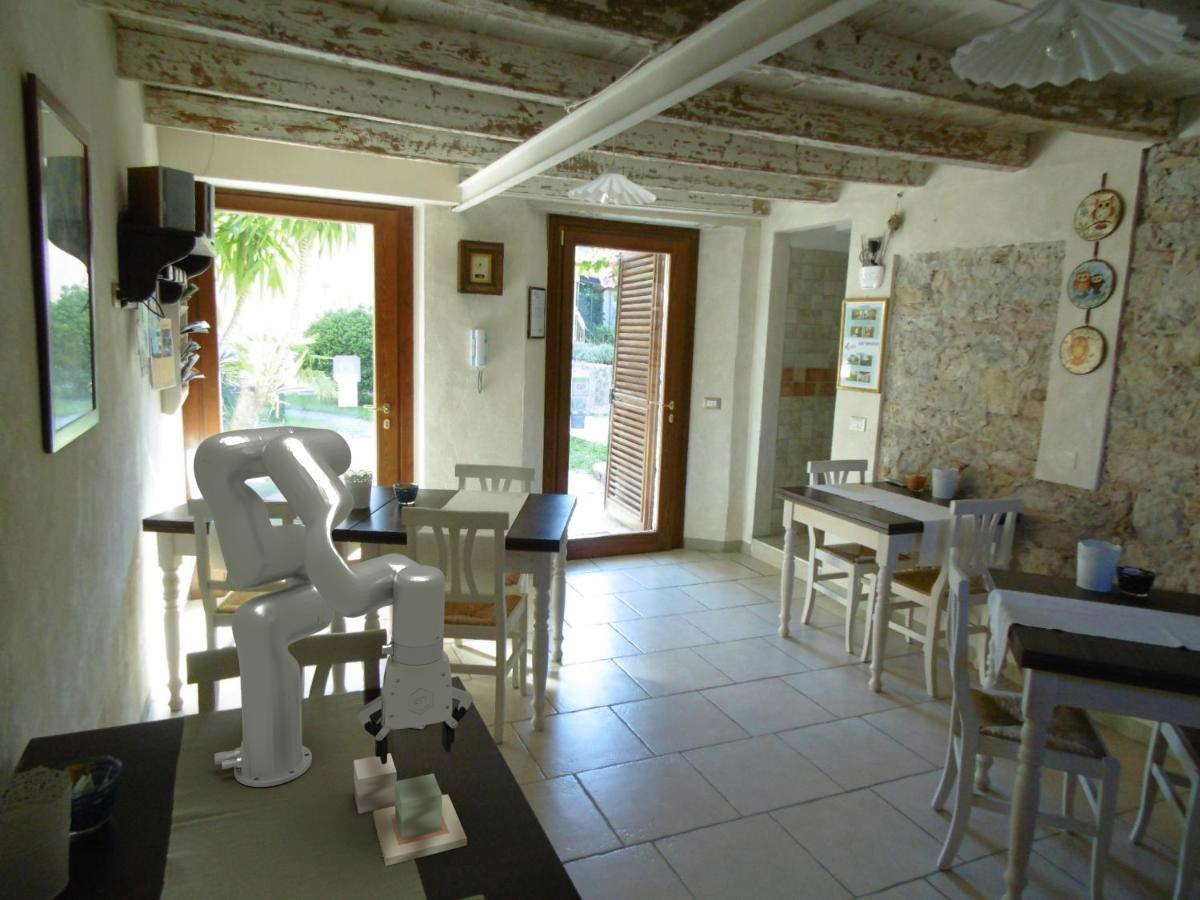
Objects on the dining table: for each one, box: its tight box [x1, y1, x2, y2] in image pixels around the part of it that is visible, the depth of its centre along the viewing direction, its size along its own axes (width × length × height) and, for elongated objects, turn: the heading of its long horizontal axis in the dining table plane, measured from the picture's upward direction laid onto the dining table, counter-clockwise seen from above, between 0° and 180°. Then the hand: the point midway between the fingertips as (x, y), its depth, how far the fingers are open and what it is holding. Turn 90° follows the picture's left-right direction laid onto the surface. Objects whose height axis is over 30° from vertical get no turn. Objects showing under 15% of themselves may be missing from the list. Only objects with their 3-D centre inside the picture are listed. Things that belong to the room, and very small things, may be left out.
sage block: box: [395, 773, 443, 840], centre depth 116 cm, size 6×6×6 cm
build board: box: [372, 793, 468, 867], centre depth 116 cm, size 12×12×1 cm
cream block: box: [353, 753, 398, 815], centre depth 124 cm, size 6×6×6 cm
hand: (415, 753), depth 115 cm, fingers open, 9 cm apart
